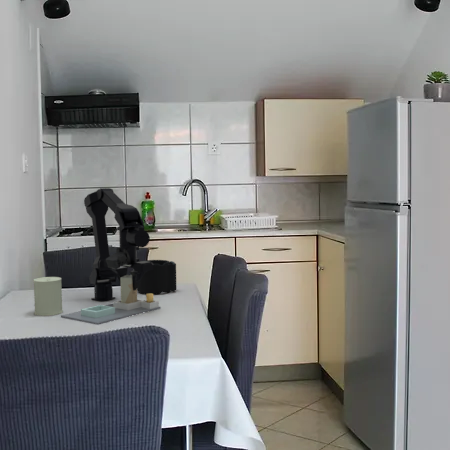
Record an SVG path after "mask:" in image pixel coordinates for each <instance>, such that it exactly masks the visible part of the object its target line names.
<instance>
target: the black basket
mask: <svg viewBox="0 0 450 450" xmlns="http://www.w3.org/2000/svg"><path fill="white" fill-rule="evenodd" d="M141 261H142V260H141ZM141 261H140V260H139V262H141ZM144 261H149V262H152V263H153V270H150V271H147V272H145V273H144V275H143V277H142V278H141V281H140V283H139V285H138V287H137V293H138V292H139V294H142V295H146V294H149V293H152V294H153V296H154V295H160V294H162V293H165V294H168V293H170V292H174V293H175V292H176V291H177V263H175V261H170V260H164V259H149V260H147V259H145V260H144Z"/></svg>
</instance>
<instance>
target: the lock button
mask: <svg viewBox="0 0 450 450" xmlns="http://www.w3.org/2000/svg"><path fill="white" fill-rule="evenodd" d="M145 296H146V297H145V298H146V300H145V301H146V302H148V303H152V302H154V301H155V300H154V295H153V294H152V293H149V294H145ZM153 300H154V301H153Z"/></svg>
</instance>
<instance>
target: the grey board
mask: <svg viewBox="0 0 450 450" xmlns="http://www.w3.org/2000/svg"><path fill="white" fill-rule="evenodd" d="M143 301H146V300H145V299H139V298H137V302H133V303H129V304H127V303H121V299H120V300H115V301H113V302H112V303H109V304H106V305H103V304H98V305H95V306H90V307H86V308H81V309H80V310H79V311H74V312H70V313H66V314H61V315H60V318H62V319H67V320H72V321H75V322H76V321H77V322H81V323H82V322H84V323H85V324H87V323H88V324H92V325H98V326H99V325H102V324H105V323H106V324H107V323H110V321H111V322H113V321H114V320H115V321H117V320H118V321H119V320H121V319H125V318H129V316H130V317H133V316H132V315H134V316H137V315H136V314H138V315H140V314H139V313H142V314H144V313H143V312H145V313H149V312H153V311H157V310H160V309H161V306H159V307H157V308H153V309H146V308H141V302H143ZM152 310H153V311H152ZM148 311H149V312H148Z"/></svg>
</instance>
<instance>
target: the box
mask: <svg viewBox="0 0 450 450" xmlns="http://www.w3.org/2000/svg"><path fill="white" fill-rule="evenodd" d="M120 280H121V286H120V300H121V303H127V304H129V303H133V302H137V299H138V291H137V289H136V290H133V281H132V275H131V274H130V275H129V274H127V275H126V276H123V277H121V278H120Z"/></svg>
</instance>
